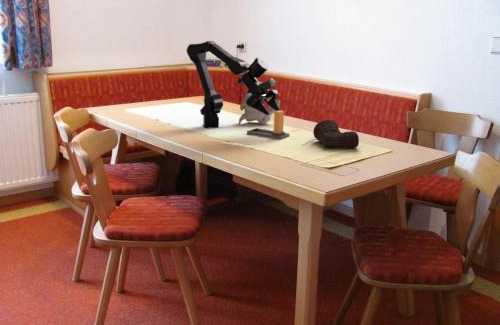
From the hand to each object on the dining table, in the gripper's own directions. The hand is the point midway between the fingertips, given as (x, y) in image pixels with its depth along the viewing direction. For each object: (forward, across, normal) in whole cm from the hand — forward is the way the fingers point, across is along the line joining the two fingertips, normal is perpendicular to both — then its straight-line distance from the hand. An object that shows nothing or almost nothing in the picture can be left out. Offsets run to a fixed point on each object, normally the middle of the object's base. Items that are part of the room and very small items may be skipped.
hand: (273, 113), depth 206 cm
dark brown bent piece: (+27, +5, -11) cm, 29 cm away
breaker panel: (+6, 0, +10) cm, 11 cm away
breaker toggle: (+9, 0, +5) cm, 10 cm away
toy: (-6, +18, +21) cm, 28 cm away
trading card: (+35, -25, -18) cm, 47 cm away
